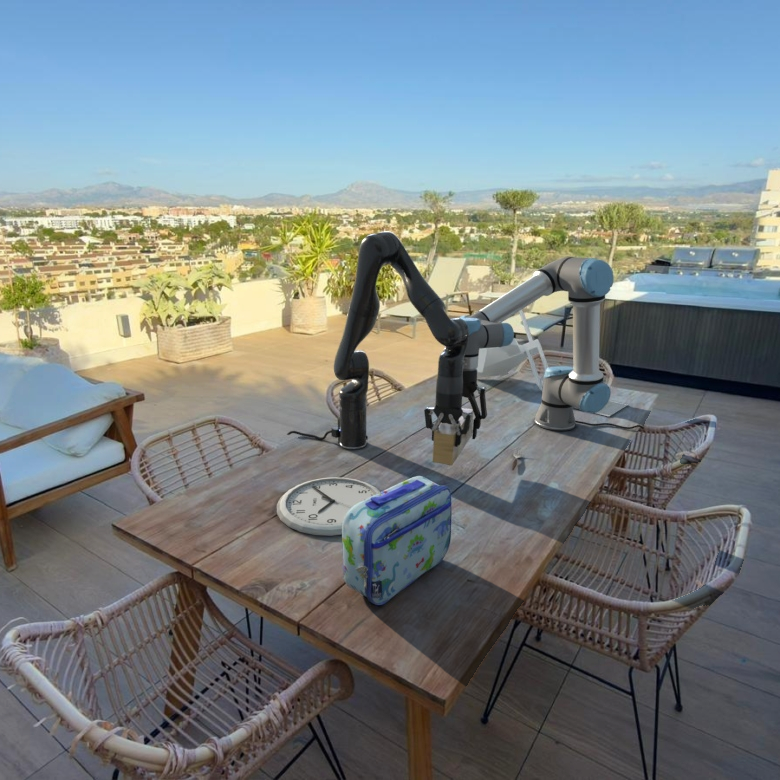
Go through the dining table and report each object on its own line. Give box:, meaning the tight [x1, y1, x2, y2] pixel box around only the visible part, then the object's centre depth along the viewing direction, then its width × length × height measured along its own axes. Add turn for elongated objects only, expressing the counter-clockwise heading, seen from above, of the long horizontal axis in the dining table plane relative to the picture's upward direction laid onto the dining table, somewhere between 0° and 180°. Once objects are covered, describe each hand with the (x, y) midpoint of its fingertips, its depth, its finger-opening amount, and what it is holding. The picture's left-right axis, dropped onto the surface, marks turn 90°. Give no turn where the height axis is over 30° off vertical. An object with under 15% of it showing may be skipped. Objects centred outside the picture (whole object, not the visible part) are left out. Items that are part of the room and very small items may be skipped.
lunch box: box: [341, 475, 453, 606], centre depth 111 cm, size 26×11×21 cm, turn 134°
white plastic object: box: [476, 309, 549, 392], centre depth 257 cm, size 37×45×31 cm
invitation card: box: [573, 399, 629, 418], centre depth 226 cm, size 21×1×15 cm
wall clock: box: [276, 476, 382, 537], centre depth 142 cm, size 30×2×30 cm
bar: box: [432, 407, 474, 467], centre depth 161 cm, size 24×6×9 cm, turn 158°
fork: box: [512, 447, 523, 471], centre depth 171 cm, size 3×16×2 cm, turn 160°
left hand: (446, 443), depth 153 cm, fingers closed on bar, 6 cm apart
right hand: (461, 435), depth 170 cm, fingers open, 8 cm apart
